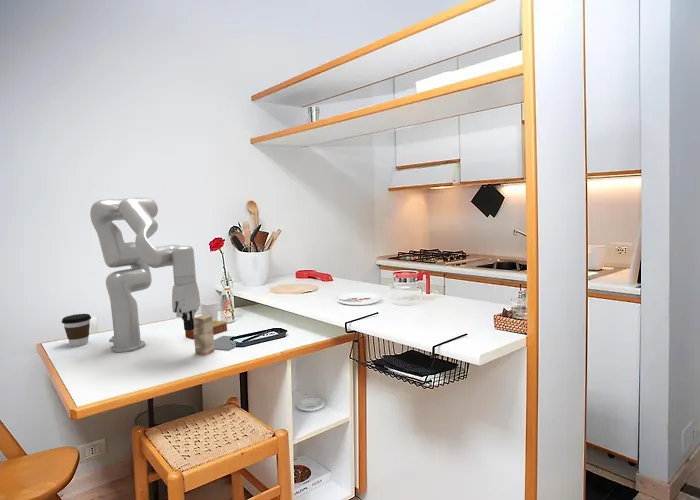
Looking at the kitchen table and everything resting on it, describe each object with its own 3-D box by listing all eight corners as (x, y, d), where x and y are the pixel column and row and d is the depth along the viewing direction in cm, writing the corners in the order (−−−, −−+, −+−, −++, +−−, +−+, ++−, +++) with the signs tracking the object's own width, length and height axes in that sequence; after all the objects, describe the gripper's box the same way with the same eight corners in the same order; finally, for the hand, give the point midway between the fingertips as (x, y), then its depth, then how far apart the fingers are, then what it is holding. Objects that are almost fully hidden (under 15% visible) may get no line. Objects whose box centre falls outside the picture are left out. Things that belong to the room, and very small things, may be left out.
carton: (227, 331, 211) (226, 321, 211) (197, 341, 198) (196, 331, 198) (215, 328, 216) (214, 319, 216) (185, 338, 203) (184, 328, 203)
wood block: (195, 354, 180) (192, 318, 178) (203, 350, 184) (200, 314, 183) (206, 355, 178) (203, 318, 176) (214, 350, 182) (211, 315, 181)
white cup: (201, 322, 228) (199, 302, 227) (218, 320, 231) (216, 300, 229) (202, 326, 220) (200, 305, 219) (219, 324, 223) (218, 303, 222)
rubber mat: (198, 348, 187) (198, 347, 187) (223, 336, 202) (223, 335, 202) (228, 350, 182) (228, 349, 182) (251, 338, 197) (251, 337, 197)
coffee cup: (80, 348, 194) (77, 320, 192) (57, 348, 196) (54, 319, 195) (99, 340, 204) (96, 313, 203) (77, 340, 206) (75, 313, 205)
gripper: (190, 276, 179) (194, 323, 181) (161, 283, 165) (166, 335, 167) (206, 276, 176) (210, 324, 178) (179, 284, 162) (183, 336, 164)
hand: (189, 329), depth 173 cm, fingers closed
